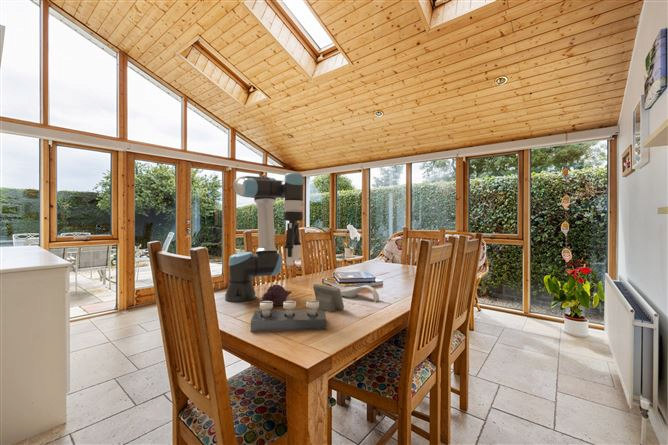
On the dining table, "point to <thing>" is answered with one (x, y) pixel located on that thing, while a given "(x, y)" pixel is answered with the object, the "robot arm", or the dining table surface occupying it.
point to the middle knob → (289, 308)
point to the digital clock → (328, 297)
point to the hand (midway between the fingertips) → (292, 262)
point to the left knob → (266, 308)
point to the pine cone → (276, 294)
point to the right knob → (312, 307)
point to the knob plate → (288, 321)
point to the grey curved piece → (355, 290)
